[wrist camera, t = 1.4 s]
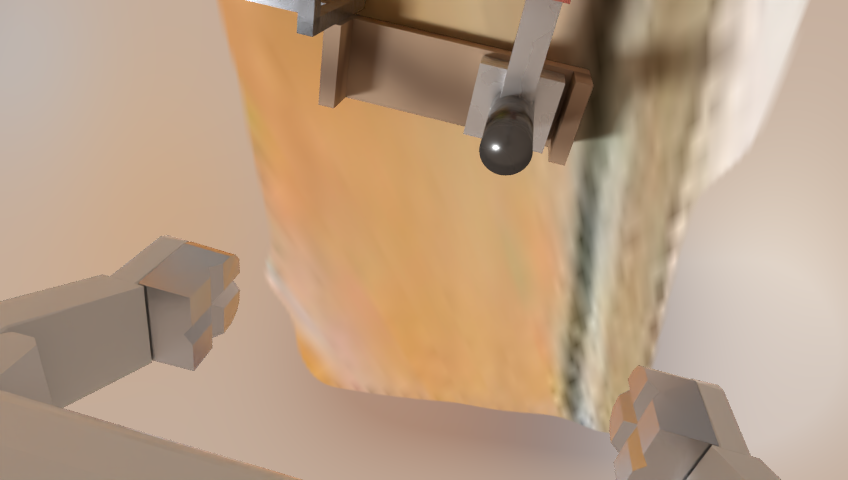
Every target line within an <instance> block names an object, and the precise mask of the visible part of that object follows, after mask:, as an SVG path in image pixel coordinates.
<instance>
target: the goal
mask: <svg viewBox="0 0 848 480" xmlns="http://www.w3.org/2000/svg"><path fill="white" fill-rule="evenodd" d="M247 1H252V2H256V3H260V4H264V5H269V6H273V7H277V8H281V9H285V10H290V11H294V12H298V19H297V33H299V34H303V35H307V36H311V37H313V36H315V35H317V34H318V33H320V32H322V31H324V30H326V29H328V28H329V27H331V26H333V25H335V24H337V23H338V22H340V21H342V20H344V19H346V18H348V17H349V16H351V15H353V14H355V13H357V12H358V11H360V10H362V9H364V8H365V0H247Z"/></svg>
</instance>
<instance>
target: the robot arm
mask: <svg viewBox="0 0 848 480" xmlns="http://www.w3.org/2000/svg"><path fill="white" fill-rule="evenodd" d="M239 273H240V267H239V258H238V257H237V256H236V255H234V254H231V253H227V252H224V251H221V250H217V249H214V248H211V247H207V246H204V245H200V244H197V243H194V242H189V241H186V240H182V239H179V238H176V237H172V236H169V235H167V236H161V237H159V238H158V239H157V240H155V241H154V242H153V243H152V244H150V245H149V246H148V247H147V248H145V249H144V250H143V251H142V252H140V253H139V254H138V255H137V256H136V257H134V258H133V259H131V260H130V261H129V262H128V263H126V264H125V265H124V266H123V267H121V268H120V269H119V270H117V271H116V272H115V273H114V274H113V275H111V276H110V277H109V276H106V275H99V276H95V277H91V278H87V279H84V280H80V281H76V282H72V283H68V284H64V285H61V286H57V287H53V288H49V289H45V290H42V291H38V292H34V293H30V294H26V295H22V296H19V297H15V298H11V299H7V300H3V301H0V480H302V479H299V478H295V477H292V476H288V475H285V474H282V473H279V472H275V471H271V470H269V469H265V468H262V467H258V466H255V465H252V464H248V463H245V462H242V461H238V460H235V459H231V458H228V457H225V456H222V455H218V454H215V453H211V452H208V451H205V450H201V449H198V448H194V447H191V446H188V445H184V444H181V443H178V442H174V441H171V440H167V439H164V438H161V437H158V436H154V435H151V434H147V433H144V432H141V431H137V430H134V429H131V428H127V427H124V426H121V425H117V424H114V423H111V422H107V421H104V420H101V419H97V418H94V417H90V416H87V415H83V414H80V413H77V412H74V411H70V410H67V409H64V407H65V406H68V405H69V404H71V403H73V402H75V401H77V400H79V399H81V398H83V397H85V396H87V395H89V394H91V393H93V392H95V391H97V390H99V389H101V388H103V387H105V386H107V385H109V384H111V383H113V382H115V381H117V380H118V379H120V378H122V377H124V376H126V375H128V374H130V373H132V372H134V371H136V370H138V369H140V368H142V367H144V366H146V365H148V364H150V363H152V360H153V361H157V362H161V363H165V364H169V365H173V366H177V367H181V368H184V369H188V370H192V371H194V370H195V369H196V368H197V366H198V365H199V364H200V363H201V362H202V360H203V359H204V358H205V356H206V355H207V354H208V353H209V351H210V350H211V349H212V338H213V337H216V336H218V335H220V334H223V333H224V332H225V331H226V330H227V328H228V327H229V326H230V324H231V323H232V321H233V319H234V316H235V314H236V312H237V309H238V304H239V292H240V290H239V289H238V287H237V285H236V284H235V282H234V281H233V280H234V279H235V277H236V276H237V275H238V274H239ZM628 382H629V387H630V390H629V391H627V392H625V393H623V394H620V395H619V396H618V398H617V400H616V402H615V404H614V406H613V409H612V413H611V418H610V429H609V432H610V440H611V443H612V445H613V446H614V447H615V448H616V450H617V451H618V452H619V454H618V456H617V458H616V459H615V461H614V467H615V474H616V480H781V479H780V478H779V477H778V476H777V475H776V474H775V473H774V472H773V471H772V470H771V469H770V468H769V467H767V465H766V464H764V462H763V461H762V460H760V459H759V458H756V457H753V456H751V455H750V453H749V450H748V448H747V446H746V443H745V441H744V438H743V436H742V434H741V432H740V429H739V426H738V424H737V422H736V419H735V417H734V415H733V412H732V410H731V407H730V405H729V402H728V400H727V398H726V395H725V393H724V391H723V389H722V388H721V387H720V386H718V385H716V384H712V383H708V382H703V381H700V380H695V379H688V378H684V377H681V376H677V375H673V374H670V373H666V372H662V371H659V370H655V369H651V368H647V367H644V366H640V365H638V366H637V367H636V368H635V369H634V370H633V372H632V373H631V375H630V377H629V378H628Z"/></svg>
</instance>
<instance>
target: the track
mask: <svg viewBox="0 0 848 480" xmlns="http://www.w3.org/2000/svg"><path fill="white" fill-rule="evenodd" d="M511 53H512V51H508V50H504V49H499V48H495V47H491V46H487V45H482V44H478V43H474V42H470V41H465V40H461V39H457V38H453V37H449V36H444V35H440V34H436V33H432V32H427V31H423V30H419V29H415V28H410V27H406V26H402V25H398V24H393V23H389V22H385V21H381V20H376V19H372V18H368V17H364V16H360V15H355V14H353V15H351V16H349V17H348V18H346V19H344V20H342V21H340V22H338V23H337V24H335V25H333V26H331V27H329V28H328V29H326V30H324V35H323V49H322V63H321V77H320V91H319V105H322V106H326V107H330V108H335V107H336V106H337V105H338V104H339V103H340V102H341V101H342V100H343V99H344V98H345V97H347V98H351V99H355V100H360V101H364V102H368V103H372V104H376V105H380V106H384V107H388V108H392V109H396V110H400V111H404V112H408V113H412V114H416V115H420V116H425V117H429V118H433V119H437V120H441V121H445V122H449V123H453V124H457V125H461V126H465V125H466V120H467V116H468V112H469V108H470V104H471V99H472V95H473V91H474V87H475V82H476V78H477V74H478V70H479V66H480V62H481V60H482V57H483V55H485V56H489V57H494V58H498V59H502V60H506V61H510V57H511ZM542 69H544V70H548V71H553V72H557V73H561V74H564V76H565V86H564V89H563V92H562V95H561V98H560V101H559V104H558V107H557V110H556V113H555V116H554V119H553V122H552V125H551V128H550V131H549V134H548V137H547V140H546V143H545V146H546V147H548V156H549V162H552V163H556V164H560V165H564V166H565V163H566V160H567V158H568V155H569V152H570V149H571V147H572V144H573V141H574V138H575V136H576V133H577V130H578V127H579V125H580V122H581V119H582V116H583V114H584V111H585V108H586V105H587V103H588V100H589V97H590V94H591V92H592V89H593V86H594V85H593V82H592V79H591V75H590V72H589V70H588V69H584V68H580V67H576V66H571V65H567V64H563V63H559V62H554V61H550V60H546V59H545V62H544V65H543V68H542Z"/></svg>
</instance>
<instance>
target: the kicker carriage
mask: <svg viewBox="0 0 848 480" xmlns="http://www.w3.org/2000/svg"><path fill="white" fill-rule="evenodd" d="M570 1H571V0H526V1H525V5H524V8H523V12H522V16H521V20H520V23H519V27H518V31H517V35H516V38H515V42H514V46H513V50H512V53H511V57H510V61H506V60H502V59H498V58H494V57H489V56H485V55H483V57H482V60H481V62H480V66H479V70H478V74H477V78H476V82H475V87H474V91H473V95H472V99H471V104H470V108H469V112H468V116H467V120H466V125H465V129H464V133H463V134H466V135H470V136H474V137H478V138H482V140H481V143H480V149H479V152H480V158H481V160H482V162H483V164H484V165H485V166H486V167H487V168H488V169H489V170H490V171H492V172H494V173H496V174H499V175H513V174H516V173H518V172H520V171H522V170H523V169H524V168H525V167H526V166H527V165H528V164H529V162H530V160H531V158H532V153H533V151H535V152H539V153H542V152H543V149H544V146H545V143H546V140H547V137H548V134H549V131H550V128H551V125H552V122H553V119H554V116H555V113H556V110H557V107H558V104H559V101H560V98H561V95H562V92H563V89H564V86H565V76H564V74H561V73H557V72H553V71H548V70H544V69H542V68H543V65H544V62H545V58H546V55H547V52H548V48H549V45H550V42H551V39H552V35H553V32H554V29H555V25H556V22H557V19H558V15H559V12H560V9H561V6H562V2H563V3H568V4H570Z"/></svg>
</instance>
